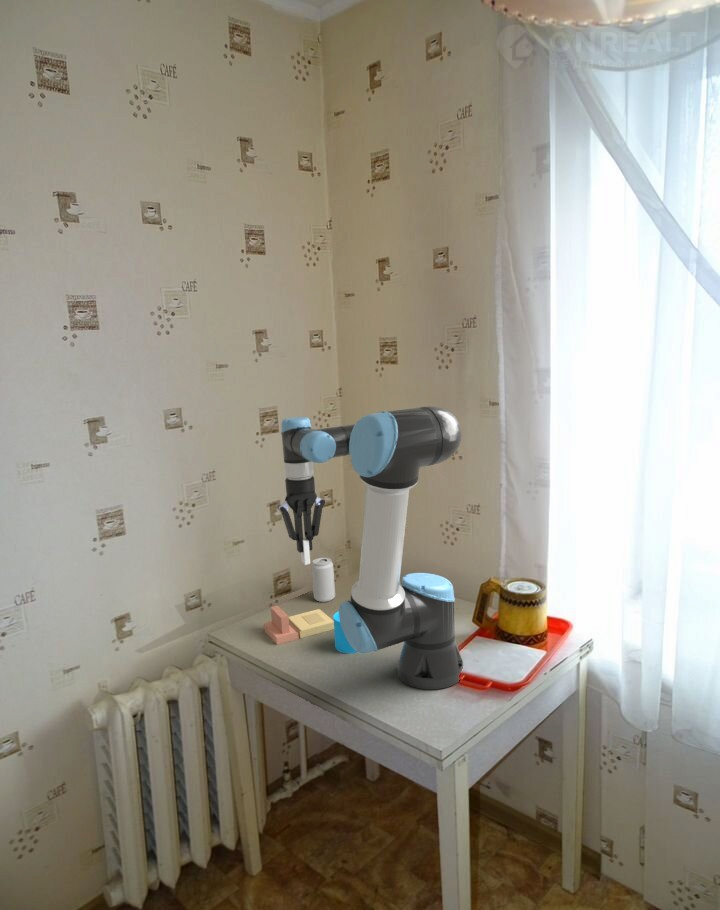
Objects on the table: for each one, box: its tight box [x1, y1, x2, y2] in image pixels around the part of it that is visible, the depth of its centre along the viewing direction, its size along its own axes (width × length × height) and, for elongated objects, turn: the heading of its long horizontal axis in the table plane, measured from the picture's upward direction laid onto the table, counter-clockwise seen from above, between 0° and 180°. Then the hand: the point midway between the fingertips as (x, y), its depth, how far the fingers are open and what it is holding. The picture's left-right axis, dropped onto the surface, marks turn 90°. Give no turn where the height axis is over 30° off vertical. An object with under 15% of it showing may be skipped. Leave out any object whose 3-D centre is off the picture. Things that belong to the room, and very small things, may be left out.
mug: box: [333, 610, 358, 654], centre depth 172 cm, size 12×8×8 cm
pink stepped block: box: [263, 605, 300, 645], centre depth 179 cm, size 10×6×6 cm, turn 27°
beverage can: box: [311, 557, 336, 603], centre depth 200 cm, size 6×6×12 cm
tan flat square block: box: [288, 608, 334, 639], centre depth 183 cm, size 10×10×2 cm
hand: (305, 562), depth 180 cm, fingers closed
